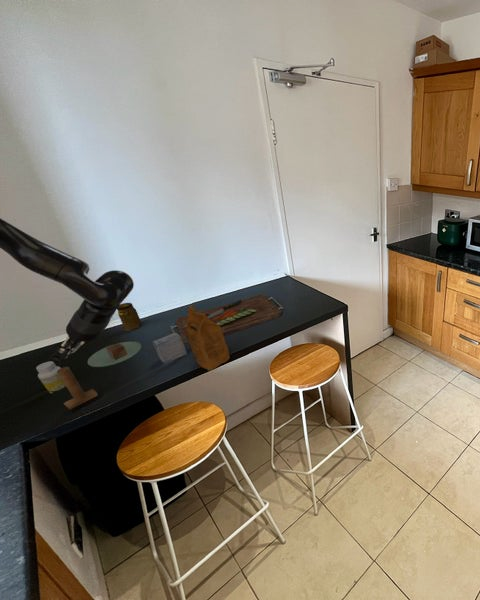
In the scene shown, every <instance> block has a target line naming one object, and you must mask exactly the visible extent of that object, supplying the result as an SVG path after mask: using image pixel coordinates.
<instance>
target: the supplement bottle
mask: <svg viewBox="0 0 480 600" xmlns="http://www.w3.org/2000/svg"><path fill="white" fill-rule="evenodd" d="M61 368H62V367H60V366H58V365H56V363H55V361H50V360H49V361H46V362H43V363H41V364H39V365H37V366H36V368H35V369H36V371H37V373H38V374H37V378H38V379H39V381H40V383H42V385H43V386H44V387H45V389H46V390H47V392H48V393H49V394H53V393H54V392H59V391H61V390H63V389H65V388H67V387H66V386H65V384H64V382H63V381H62V379H61V378H60V376H59V375H58V373H57V371H58V370H59V369H61Z"/></svg>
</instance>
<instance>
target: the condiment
mask: <svg viewBox="0 0 480 600" xmlns="http://www.w3.org/2000/svg"><path fill="white" fill-rule="evenodd" d="M116 311H117V315H118V317H119V319H120V321H121V323H122V326H123V327H124V328H123V330H124V331H126V332H133V331H136V330H139V329H141V328H142V327H143V326H144V325H143V323H142V320H141V318H140V315H139V313H138V311H137V309H136V308H135V307H134V305H133V303H131V302H124V303H121V304H120V305H119V306H118V308H117V309H116Z"/></svg>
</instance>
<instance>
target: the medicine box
mask: <svg viewBox="0 0 480 600" xmlns="http://www.w3.org/2000/svg"><path fill="white" fill-rule="evenodd" d="M151 343H152V345H153V348H154V350H155V352H156V354H157V356H158V359H159V360H160V361H161V362H162V363H163V365H167V364H170V363H171V362H173V361H175V360H178V359H180V358H182V357H184V356H186V355H188V352H187V349H186V347H185V343H184V342H183V339H182V337H181V335H180V334H179V333H176V332H174V333H170V334H168V335H165V336H162V337H161V338H159V339H156V340H154V341H152V342H151Z"/></svg>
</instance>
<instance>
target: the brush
mask: <svg viewBox="0 0 480 600" xmlns="http://www.w3.org/2000/svg"><path fill="white" fill-rule="evenodd" d="M60 368H61V369H59V370H58V371H57V373H58V375H59V376H60V378H61V379H62V381H63V382H64V384H65V386H66V387H65V388H66V389H67V390H68V392H69V393H70V395H71V396H72V398H71V399H69V400H67V401H65V402H63V405H64V406H65V408H66V409H67V411H69V412H70V413H71V414H74V413H76V412H78V411H80V410H81V408H82V409H83V407H84V408H86V407H87V406H89V405H91V404H93V403H95V402H97V401H99V400H101V397H100V396H99V394H98V392H97V391H96V390H95V389H93V388H91V389H88V390H86V391H84V389H83V388H82V387H81V385H80V383H79V381H78V379H76V377H75V374H74V373H73V372H72V369H70V367H69V366H63V367H60ZM77 410H78V411H77Z"/></svg>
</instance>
